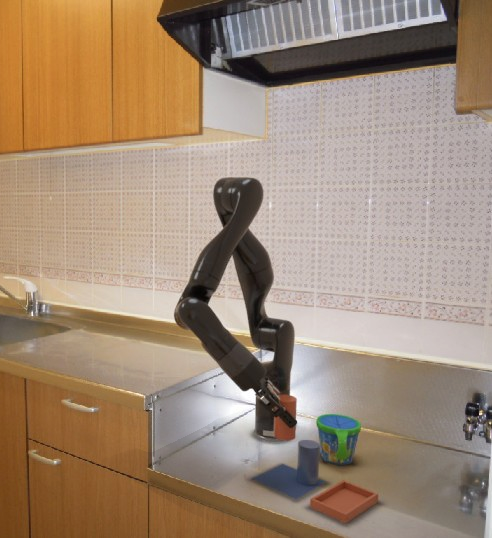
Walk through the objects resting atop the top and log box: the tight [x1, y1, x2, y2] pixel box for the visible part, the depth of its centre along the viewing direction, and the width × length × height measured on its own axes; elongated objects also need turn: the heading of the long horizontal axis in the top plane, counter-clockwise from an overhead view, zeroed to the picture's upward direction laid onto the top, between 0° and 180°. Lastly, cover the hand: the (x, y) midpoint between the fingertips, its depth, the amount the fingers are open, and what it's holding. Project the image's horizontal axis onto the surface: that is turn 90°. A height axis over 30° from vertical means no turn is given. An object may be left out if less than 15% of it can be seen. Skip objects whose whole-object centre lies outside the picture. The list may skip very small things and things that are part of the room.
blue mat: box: [252, 463, 327, 500], centre depth 133 cm, size 12×12×1 cm
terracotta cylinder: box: [274, 394, 298, 441], centre depth 129 cm, size 5×5×9 cm
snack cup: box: [315, 413, 362, 466], centre depth 144 cm, size 16×10×10 cm
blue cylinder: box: [296, 439, 321, 486], centre depth 132 cm, size 5×5×9 cm
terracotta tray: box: [309, 479, 379, 524], centre depth 122 cm, size 13×8×2 cm, turn 130°
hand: (293, 420), depth 129 cm, fingers closed on terracotta cylinder, 4 cm apart
